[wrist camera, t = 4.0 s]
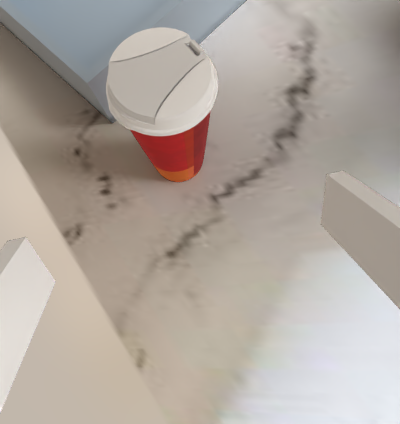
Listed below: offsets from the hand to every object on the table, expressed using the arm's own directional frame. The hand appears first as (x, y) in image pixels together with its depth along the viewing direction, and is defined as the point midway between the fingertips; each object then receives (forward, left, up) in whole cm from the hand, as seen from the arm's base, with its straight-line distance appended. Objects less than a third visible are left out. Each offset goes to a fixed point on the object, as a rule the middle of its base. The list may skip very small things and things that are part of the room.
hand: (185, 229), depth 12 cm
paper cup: (+9, -6, -17) cm, 20 cm away
